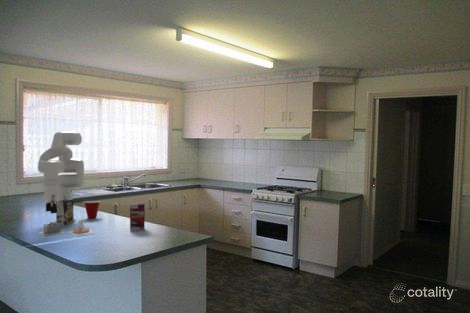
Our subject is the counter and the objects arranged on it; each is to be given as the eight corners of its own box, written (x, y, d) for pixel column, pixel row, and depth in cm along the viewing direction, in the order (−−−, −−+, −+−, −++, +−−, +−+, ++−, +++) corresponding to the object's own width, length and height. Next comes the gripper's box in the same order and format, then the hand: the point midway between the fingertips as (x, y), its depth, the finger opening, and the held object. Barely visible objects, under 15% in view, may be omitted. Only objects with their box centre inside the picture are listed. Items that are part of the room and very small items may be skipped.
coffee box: (65, 227, 232) (64, 201, 231) (56, 226, 233) (55, 201, 232) (74, 224, 241) (73, 199, 240) (65, 223, 242) (65, 199, 241)
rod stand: (38, 234, 215) (37, 222, 214) (59, 230, 222) (59, 219, 222) (43, 238, 206) (43, 225, 205) (66, 234, 213) (66, 222, 213)
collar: (43, 232, 214) (43, 224, 214) (56, 230, 219) (56, 222, 219) (47, 234, 209) (47, 226, 209) (60, 232, 214) (60, 224, 213)
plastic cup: (103, 216, 266) (102, 200, 266) (96, 219, 255) (95, 202, 255) (88, 216, 267) (88, 199, 267) (81, 219, 256) (80, 202, 256)
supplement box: (130, 231, 221) (129, 204, 221) (130, 229, 226) (129, 203, 225) (144, 230, 223) (144, 204, 223) (144, 228, 228) (144, 202, 227)
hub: (67, 233, 216) (66, 219, 215) (87, 230, 224) (87, 216, 223) (73, 237, 207) (73, 222, 206) (95, 233, 215) (95, 219, 214)
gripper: (39, 182, 217) (40, 211, 217) (48, 183, 204) (48, 214, 204) (53, 181, 222) (54, 209, 222) (62, 183, 209) (63, 213, 209)
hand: (51, 212), depth 213 cm, fingers open, 9 cm apart
